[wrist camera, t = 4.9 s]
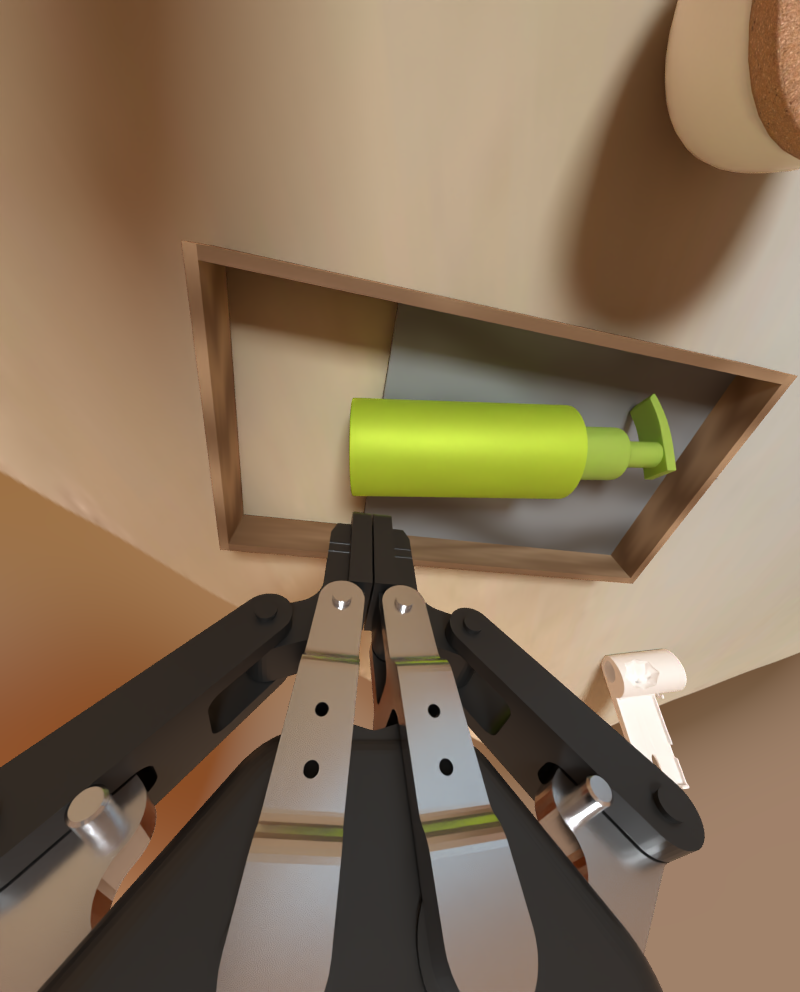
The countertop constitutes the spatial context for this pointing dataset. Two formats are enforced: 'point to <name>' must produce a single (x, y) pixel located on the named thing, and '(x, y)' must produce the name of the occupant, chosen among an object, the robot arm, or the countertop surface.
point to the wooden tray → (497, 379)
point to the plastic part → (646, 702)
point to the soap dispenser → (495, 448)
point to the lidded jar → (736, 83)
